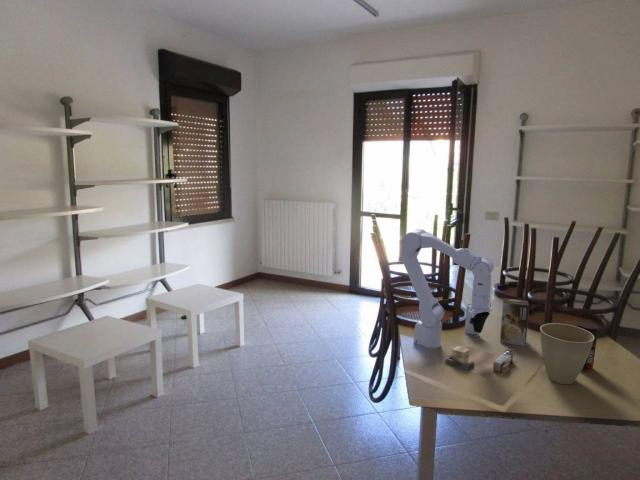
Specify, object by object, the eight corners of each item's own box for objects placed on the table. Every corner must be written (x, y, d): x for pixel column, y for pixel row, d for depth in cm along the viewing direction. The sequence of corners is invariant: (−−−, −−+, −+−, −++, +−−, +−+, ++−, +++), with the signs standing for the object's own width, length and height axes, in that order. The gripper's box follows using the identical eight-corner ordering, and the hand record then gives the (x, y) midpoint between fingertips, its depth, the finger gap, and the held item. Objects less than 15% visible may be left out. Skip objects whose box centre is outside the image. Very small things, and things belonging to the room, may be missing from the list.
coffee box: (524, 340, 170) (529, 300, 167) (525, 346, 164) (530, 305, 161) (499, 336, 173) (503, 297, 170) (499, 342, 168) (503, 302, 165)
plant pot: (526, 368, 147) (530, 323, 144) (568, 367, 148) (574, 322, 145) (552, 391, 133) (558, 342, 130) (598, 390, 134) (606, 341, 131)
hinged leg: (505, 358, 152) (506, 349, 151) (513, 361, 150) (514, 351, 149) (492, 369, 143) (493, 360, 143) (501, 372, 141) (501, 363, 141)
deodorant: (585, 372, 145) (591, 330, 142) (568, 365, 150) (573, 323, 147) (596, 369, 147) (602, 326, 145) (579, 361, 153) (584, 320, 150)
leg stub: (451, 363, 148) (452, 349, 147) (457, 359, 151) (458, 345, 150) (462, 366, 145) (464, 352, 144) (468, 362, 148) (469, 349, 147)
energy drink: (479, 337, 172) (482, 308, 169) (465, 336, 173) (467, 307, 170) (477, 332, 177) (480, 304, 175) (463, 331, 178) (466, 303, 176)
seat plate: (440, 364, 149) (441, 354, 149) (464, 348, 162) (465, 339, 162) (496, 384, 137) (497, 373, 136) (517, 365, 150) (518, 355, 149)
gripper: (483, 301, 142) (480, 341, 145) (500, 292, 152) (497, 329, 155) (463, 297, 147) (460, 335, 149) (481, 287, 157) (478, 323, 160)
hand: (477, 331), depth 153 cm, fingers closed
